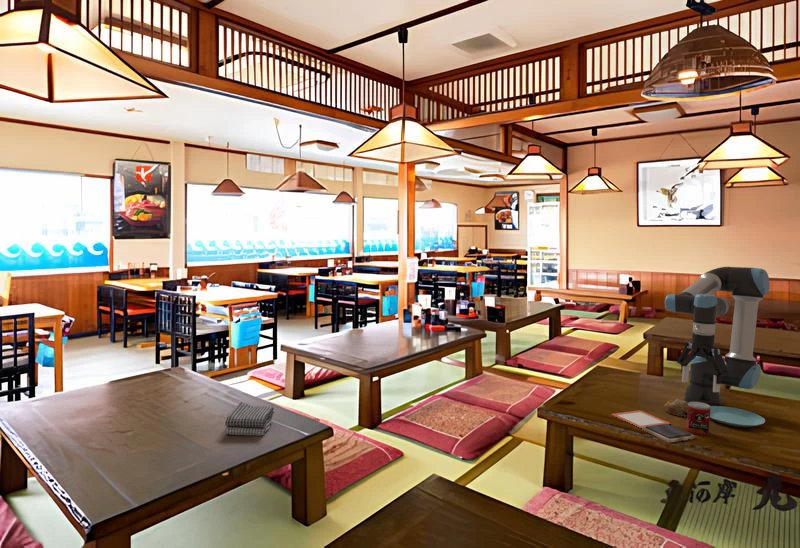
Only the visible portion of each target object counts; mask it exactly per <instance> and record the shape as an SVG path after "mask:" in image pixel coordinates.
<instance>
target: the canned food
mask: <svg viewBox="0 0 800 548" xmlns="http://www.w3.org/2000/svg"><path fill="white" fill-rule="evenodd" d="M687 404H688V413H687V416H686V418H687V419H686V431H687V432H688V433H690V432H691V433H690V434H693V433H694V435H697V436H707V435H708V434H709V432H710V424H711V422H710V421H711V418H710V410H711V408H710V405H708V404H705V403H701V402H687Z"/></svg>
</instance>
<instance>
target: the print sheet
mask: <svg viewBox="0 0 800 548" xmlns="http://www.w3.org/2000/svg"><path fill="white" fill-rule="evenodd" d="M610 415H611V416H612V417H614V418H616V417H617V419H619V420H621V421H623V422H625V421H626V422H625V423H627V422H628V423H627V424H629V423H630V424H629V425H631V424H633V425H635V426H634V427H636V426H637V427H636V428H638V427H639V428H638V429H640V428H642V427H646V426H653V425H660V424H672V423H670V422H669V421H666V420H664V419H662V418H659V417H657V416H654V415H653V414H650V413H647V412H646V411H642V410H641V409H640V410H632V411H624V412H617V413H616V412H615V413H611V414H610ZM633 425H632V426H633Z"/></svg>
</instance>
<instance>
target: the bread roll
mask: <svg viewBox="0 0 800 548" xmlns="http://www.w3.org/2000/svg"><path fill="white" fill-rule="evenodd" d="M663 406H664V407H665V409H664V410H665V412H666V413H668V414H669V413H670V414H669V415H672V414H673V416H675V415H677V416H676V417H682V416H684V417H687V413H688V401H686V400H682V399H680V398H674V399H669V400H668V401H666V403H665V404H664V405H663ZM684 417H683V418H684Z"/></svg>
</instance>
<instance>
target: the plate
mask: <svg viewBox="0 0 800 548" xmlns="http://www.w3.org/2000/svg"><path fill="white" fill-rule="evenodd" d="M710 408H711V410H710V419H712V420H714V421H715V420H716V421H715V422H718V423H720V424H723V425H727V426H731V427H738V428H752V427H757V426H762V425H763V424H765V423H766V419H765V418H764V417H762V416H761V415H759V414H757V413H754V412H752V411H749V410H747V409H746V410H745V409H741V408H737V407H733V406H732V407H731V406H724V405H723V406H722V405H721V406H710Z"/></svg>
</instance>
